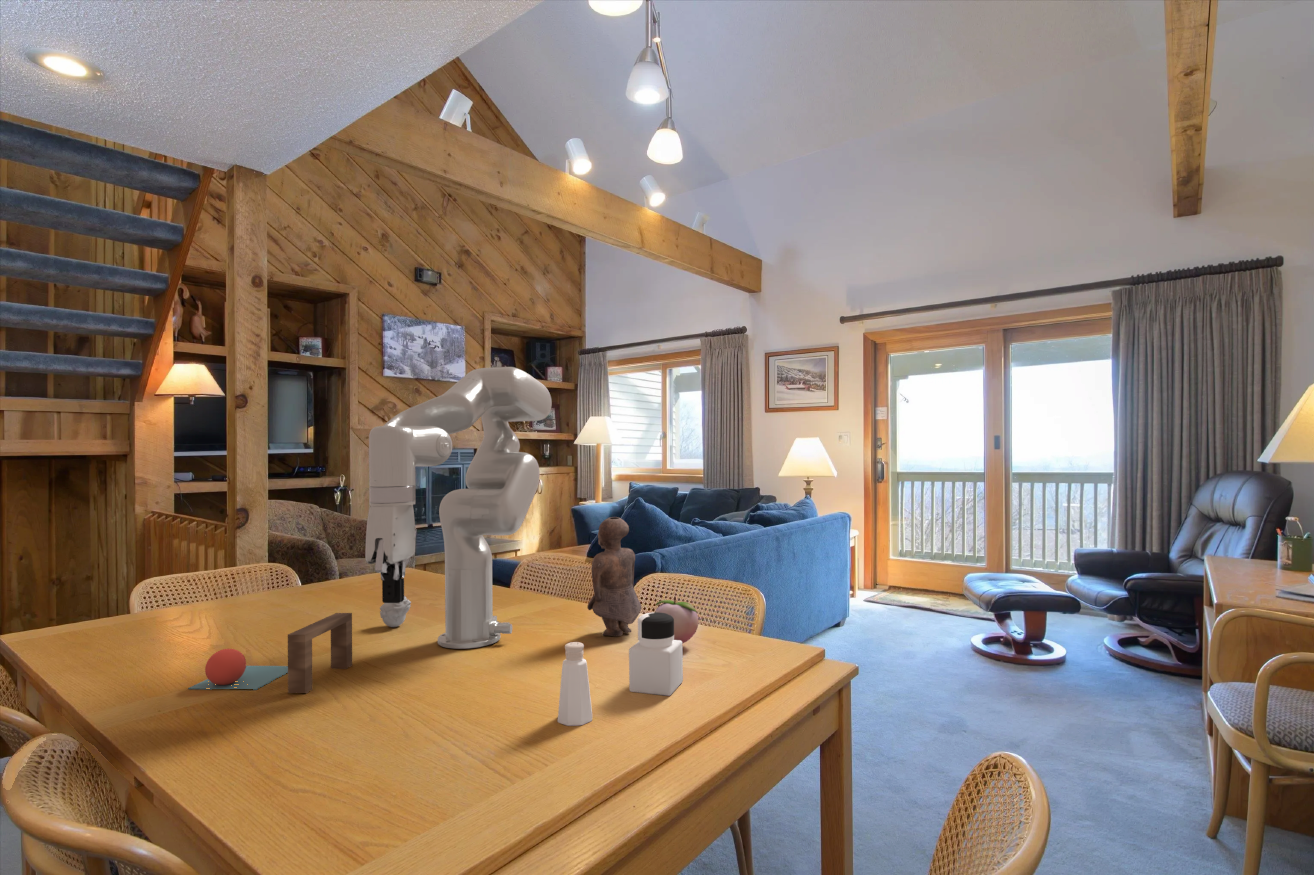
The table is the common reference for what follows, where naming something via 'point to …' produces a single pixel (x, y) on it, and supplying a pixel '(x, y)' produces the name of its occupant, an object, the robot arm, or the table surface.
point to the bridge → (303, 649)
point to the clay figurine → (614, 580)
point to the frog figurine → (395, 612)
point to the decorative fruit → (680, 618)
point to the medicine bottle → (655, 656)
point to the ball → (225, 666)
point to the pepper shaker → (574, 688)
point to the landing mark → (249, 678)
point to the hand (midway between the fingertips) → (393, 601)
